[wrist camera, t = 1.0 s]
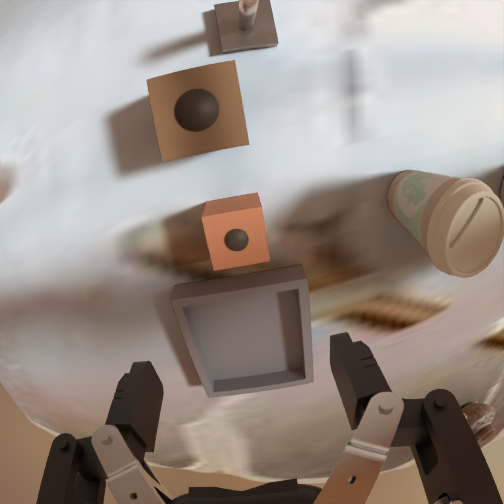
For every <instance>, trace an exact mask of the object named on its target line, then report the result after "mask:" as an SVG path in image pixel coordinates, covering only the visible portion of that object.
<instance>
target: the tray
mask: <svg viewBox="0 0 504 504" xmlns="http://www.w3.org/2000/svg"><path fill="white" fill-rule="evenodd" d="M170 302H171V305H172V308H173V310H174V313H175V316H176V319H177V322H178V324H179V327H180V330H181V332H182V335H183V338H184V340H185V343H186V345H187V348H188V351H189V353H190V356H191V358H192V361H193V363H194V366H195V368H196V370H197V373H198V375H199V378H200V380H201V382H202V385H203V387H204V389H205V392H206V394H207V396H208V398H209V397H219V396H229V395H238V394H246V393H253V392H260V391H267V390H273V389H280V388H285V387H291V386H297V385H302V384H307V383H312V382H314V379H313V354H312V335H311V318H310V303H309V289H308V278H307V276H306V273H305V271H304V269H303V266H302V265H296V266H290V267H285V268H279V269H273V270H267V271H261V272H255V273H249V274H243V275H237V276H231V277H225V278H218V279H212V280H206V281H200V282H193V283H187V284H180V285H175V286H174V289H173V292H172V295H171V299H170Z"/></svg>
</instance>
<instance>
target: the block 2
mask: <svg viewBox="0 0 504 504" xmlns="http://www.w3.org/2000/svg"><path fill="white" fill-rule="evenodd" d="M201 218H202V223H203V227H204V232H205V236H206V240H207V244H208V249H209V253H210V257H211V261H212V265H213V269H214V271H215V270H221V269H227V268H233V267H239V266H245V265H251V264H257V263H263V262H269V261H270V257H269V250H268V244H267V237H266V231H265V224H264V218H263V211H262V206H261V202H260V199H259V196H258V193H252V194H246V195H240V196H234V197H229V198H223V199H218V200H212V201H207V202H206V204H205V207H204V210H203V213H202V217H201Z"/></svg>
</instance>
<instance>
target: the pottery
mask: <svg viewBox="0 0 504 504" xmlns="http://www.w3.org/2000/svg"><path fill="white" fill-rule="evenodd" d="M462 411H463V413H464V415H465V417H466V419H467V421H468V423H469V425H470V427H471V429H472V431H473V434H474V436H475V438H476V440H477V442H478V444H479V445H480V444H481V443H483V442H484V441H486V440H487V439H488V438H489V437H490V436H491V435H492V434H493V433H494V431H495V429H494V427H493V426H492V425H491V422H492V420H493V418H494V416H495V413H496V411H495V409H494V408H493V407H491V406H489V405H487V404H478V403H477V401H473V402H471V403H469V404H467V405H466V406H465V407H464V408H463V409H462Z"/></svg>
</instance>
